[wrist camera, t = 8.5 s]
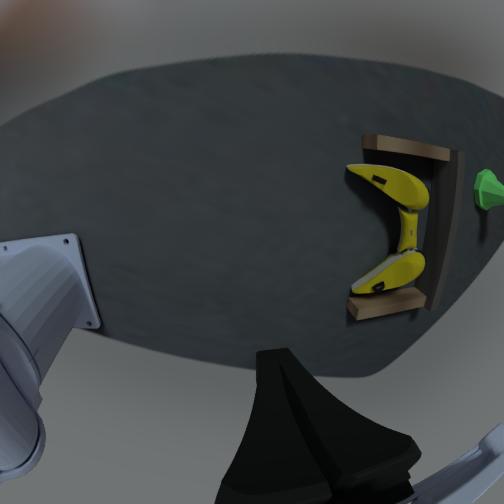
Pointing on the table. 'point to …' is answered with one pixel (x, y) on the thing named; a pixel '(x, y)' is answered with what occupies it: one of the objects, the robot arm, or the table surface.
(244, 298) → the table surface
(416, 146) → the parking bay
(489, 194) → the game piece
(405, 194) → the yellow plastic handheld tool
